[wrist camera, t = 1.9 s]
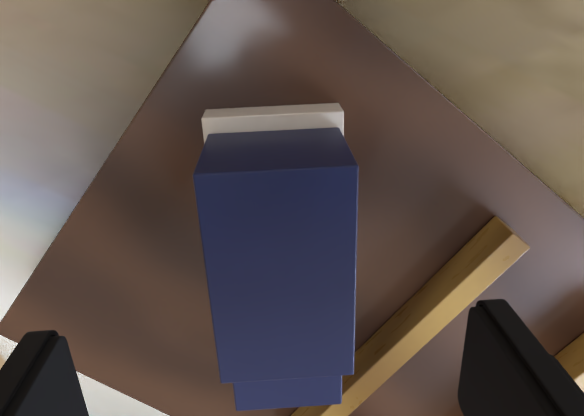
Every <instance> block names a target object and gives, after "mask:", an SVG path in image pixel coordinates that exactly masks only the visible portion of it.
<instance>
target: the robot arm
mask: <svg viewBox="0 0 584 416" xmlns="http://www.w3.org/2000/svg"><path fill="white" fill-rule="evenodd" d="M458 402H459V406H460V409H461V411H462V413H463V415H464V416H584V392H583V391H582V390H581V388H580V387H579V386H578V385H577V383H576V382H575V381H574V380H573V379H572V377H571V376H570V375H569V374H568V372H567V371H566V370H565V369H564V367H563V366H562V365H561V364H560V362H559V361H558V360H557V359H556V358H555V357H554V356H553V355H551V354H549V353H548V352H547V351H546V350H545V348H544V347H543V346H542V345H541V343H540V342H539V341H538V340H537V338H536V337H535V336H534V335H533V333H532V332H531V331H530V330H529V328H528V327H527V326H526V325H525V323H524V322H523V321H522V320H521V318H520V317H519V316H518V315H517V313H516V312H515V311H514V310H513V308H512V307H511V306H510V305H509V303H508V302H507V301H506V300H505V299H489V300H479V301H477V303H476V306H475V307H471V308H470V309H469V313H468V320H467V327H466V334H465V342H464V349H463V356H462V364H461V371H460V378H459V386H458ZM0 416H89V415H88V411H87V408H86V404H85V401H84V398H83V394H82V391H81V387H80V384H79V380H78V377H77V373H76V370H75V366H74V363H73V359H72V356H71V353H70V349H69V346H68V342H67V339H66V338H65V336H59V334H58V332H57V331H56V330H44V331H30V332H27V333H26V334H25V335H24V336H23V337H22V339H21V340H20V342H19V343H18V345H17V346H16V348H15V349H14V350H13V352H12V353H11V355H10V356H9V358H8V359H7V361H6V362H5V364H4V365H3V367H2V368H1V370H0Z"/></svg>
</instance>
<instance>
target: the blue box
mask: <svg viewBox="0 0 584 416" xmlns="http://www.w3.org/2000/svg"><path fill="white" fill-rule="evenodd" d="M201 120H202V129H203V137H204V146H203V149H202V152H201V154H200V157H199V160H198V162H197V165H196V167H195V170H194V173H193V182H194V190H195V197H196V205H197V212H198V220H199V227H200V235H201V242H202V250H203V257H204V264H205V272H206V279H207V287H208V294H209V302H210V309H211V317H212V324H213V332H214V339H215V347H216V354H217V361H218V369H219V376H220V382H221V383H233V392H234V400H235V408H236V411H247V410H262V409H277V408H291V407H306V406H321V405H336V404H341V403H342V376H343V375H353V374H354V359H355V314H356V270H357V225H358V181H359V166H358V164H357V162H356V160H355V158H354V156H353V154H352V152H351V150H350V148H349V146H348V144H347V142H346V140H345V138H344V111H343V109H342V108H341V106H340V105H339V103H325V104H304V105H284V106H264V107H243V108H223V109H206V110H205V112H204V114H203V117H202V119H201Z"/></svg>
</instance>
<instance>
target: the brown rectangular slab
mask: <svg viewBox="0 0 584 416" xmlns="http://www.w3.org/2000/svg"><path fill="white" fill-rule="evenodd" d="M325 103H339V105H340V106H341V108H342V109H343V111H344V138H345V140H346V142H347V144H348V146H349V148H350V150H351V152H352V154H353V156H354V158H355V160H356V162H357V164H358V166H359V181H358V225H357V270H356V314H355V359H354V374H353V375H343V376H342V403H341V404H336V405H321V406H306V407H291V408H277V409H262V410H247V411H236V408H235V400H234V392H233V383H221V382H220V376H219V369H218V361H217V354H216V347H215V339H214V332H213V324H212V317H211V309H210V302H209V294H208V287H207V279H206V272H205V264H204V257H203V250H202V242H201V235H200V227H199V220H198V212H197V205H196V197H195V190H194V182H193V173H194V170H195V167H196V165H197V162H198V160H199V157H200V154H201V152H202V149H203V146H204V137H203V129H202V120H201V119H202V117H203V114H204V112H205V110H206V109H223V108H243V107H264V106H284V105H304V104H325ZM489 299H505V300H506V301H507V302H508V303H509V305H510V306H511V307H512V308H513V310H514V311H515V312H516V313H517V315H518V316H519V317H520V318H521V320H522V321H523V322H524V323H525V325H526V326H527V327H528V328H529V330H530V331H531V332H532V333H533V335H534V336H535V337H536V338H537V340H538V341H539V342H540V343H541V345H542V346H543V347H544V348H545V350H546V351H547V352H548V353H549V354H551V355H553V356H554V357H555V358H556V359H557V360H558V361H559V362H560V364H561V365H562V366H563V367H564V369H565V370H566V371H567V372H568V374H569V375H570V376H571V377H572V379H573V380H574V381H575V382H576V383H577V385H578V386H579V387H580V388H581V390H582V391H583V392H584V218H583V217H582V216H581V215H580V214H578V213H577V212H576V211H575V210H574V209H573V208H572V207H570V206H569V205H568V204H567V203H566V202H565V201H564V200H562V199H561V198H560V197H559V196H558V195H557V194H556V193H554V192H553V191H552V190H551V189H550V188H549V187H547V186H546V185H545V184H544V183H543V182H542V181H541V180H539V179H538V178H537V177H536V176H535V175H534V174H533V173H531V172H530V171H529V170H528V169H527V168H526V167H525V166H523V165H522V164H521V163H520V162H519V161H518V160H517V159H515V158H514V157H513V156H512V155H511V154H510V153H509V152H507V151H506V150H505V149H504V148H503V147H502V146H501V145H499V144H498V143H497V142H496V141H495V140H494V139H493V138H491V137H490V136H489V135H488V134H487V133H486V132H485V131H483V130H482V129H481V128H480V127H479V126H478V125H477V124H475V123H474V122H473V121H472V120H471V119H470V118H469V117H467V116H466V115H465V114H464V113H463V112H462V111H461V110H459V109H458V108H457V107H456V106H455V105H454V104H453V103H451V102H450V101H449V100H448V99H447V98H446V97H444V96H443V95H442V94H441V93H440V92H439V91H438V90H436V89H435V88H434V87H433V86H432V85H431V84H430V83H428V82H427V81H426V80H425V79H424V78H423V77H422V76H420V75H419V74H418V73H417V72H416V71H415V70H414V69H412V68H411V67H410V66H409V65H408V64H407V63H406V62H404V61H403V60H402V59H401V58H400V57H399V56H398V55H396V54H395V53H394V52H393V51H392V50H391V49H390V48H388V47H387V46H386V45H385V44H384V43H383V42H382V41H380V40H379V39H378V38H377V37H376V36H375V35H374V34H372V33H371V32H370V31H369V30H368V29H367V28H366V27H364V26H363V25H362V24H361V23H360V22H359V21H358V20H356V19H355V18H354V17H353V16H352V15H351V14H350V13H348V12H347V11H346V10H345V9H344V8H343V7H342V6H340V5H339V4H338V3H337V2H336V1H335V0H210V1H209V3H208V4H207V6H206V8H205V9H204V11H203V12H202V14H201V15H200V17H199V18H198V20H197V21H196V23H195V24H194V26H193V27H192V29H191V31H190V32H189V34H188V35H187V37H186V38H185V40H184V41H183V43H182V44H181V46H180V47H179V49H178V50H177V52H176V54H175V55H174V57H173V58H172V60H171V61H170V63H169V64H168V66H167V67H166V69H165V70H164V72H163V74H162V75H161V77H160V78H159V80H158V81H157V83H156V84H155V86H154V87H153V89H152V90H151V92H150V93H149V95H148V97H147V98H146V100H145V101H144V103H143V104H142V106H141V107H140V109H139V110H138V112H137V113H136V115H135V116H134V118H133V120H132V121H131V123H130V124H129V126H128V127H127V129H126V130H125V132H124V133H123V135H122V136H121V138H120V140H119V141H118V143H117V144H116V146H115V147H114V149H113V150H112V152H111V153H110V155H109V156H108V158H107V159H106V161H105V163H104V164H103V166H102V167H101V169H100V170H99V172H98V173H97V175H96V176H95V178H94V179H93V181H92V182H91V184H90V186H89V187H88V189H87V190H86V192H85V193H84V195H83V196H82V198H81V199H80V201H79V202H78V204H77V205H76V207H75V209H74V210H73V212H72V213H71V215H70V216H69V218H68V219H67V221H66V222H65V224H64V225H63V227H62V229H61V230H60V232H59V233H58V235H57V236H56V238H55V239H54V241H53V242H52V244H51V245H50V247H49V248H48V250H47V252H46V253H45V255H44V256H43V258H42V259H41V261H40V262H39V264H38V265H37V267H36V268H35V270H34V271H33V273H32V275H31V276H30V278H29V279H28V281H27V282H26V284H25V285H24V287H23V288H22V290H21V291H20V293H19V294H18V296H17V298H16V299H15V301H14V302H13V304H12V305H11V307H10V308H9V310H8V311H7V313H6V314H5V316H4V318H3V319H2V321H1V322H0V335H2V336H4V337H6V338H8V339H10V340H12V341H15V342H17V343H19V342H20V340H21V339H22V337H23V336H24V335H25V334H26V333H27V332H30V331H44V330H56V331H57V332H58V334H59V336H65V338H66V339H67V342H68V346H69V349H70V353H71V356H72V359H73V363H74V366H75V370H76V371H77V372H80V373H82V374H84V375H86V376H88V377H90V378H92V379H94V380H96V381H98V382H100V383H103V384H105V385H107V386H109V387H111V388H113V389H115V390H117V391H119V392H121V393H124V394H126V395H128V396H130V397H132V398H134V399H136V400H138V401H140V402H142V403H144V404H147V405H149V406H151V407H153V408H155V409H157V410H159V411H161V412H163V413H165V414H167V415H170V416H464V415H463V413H462V411H461V409H460V406H459V402H458V386H459V378H460V371H461V364H462V356H463V349H464V342H465V334H466V327H467V320H468V313H469V309H470V308H471V307H475V306H476V303H477V301H479V300H489Z"/></svg>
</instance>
